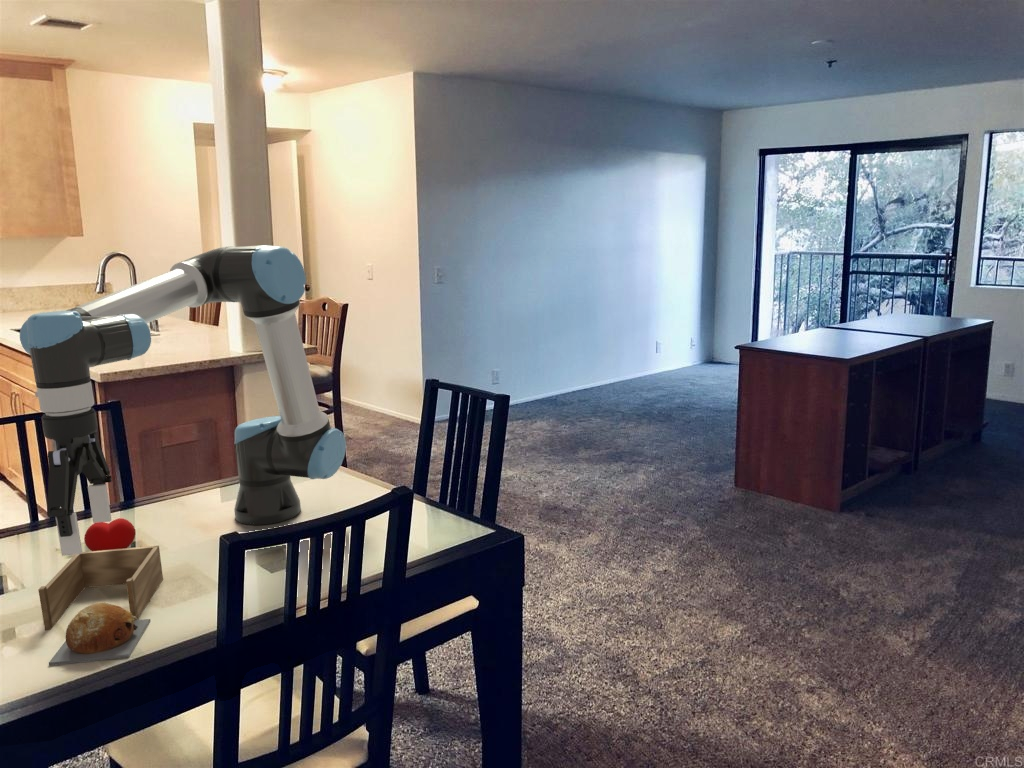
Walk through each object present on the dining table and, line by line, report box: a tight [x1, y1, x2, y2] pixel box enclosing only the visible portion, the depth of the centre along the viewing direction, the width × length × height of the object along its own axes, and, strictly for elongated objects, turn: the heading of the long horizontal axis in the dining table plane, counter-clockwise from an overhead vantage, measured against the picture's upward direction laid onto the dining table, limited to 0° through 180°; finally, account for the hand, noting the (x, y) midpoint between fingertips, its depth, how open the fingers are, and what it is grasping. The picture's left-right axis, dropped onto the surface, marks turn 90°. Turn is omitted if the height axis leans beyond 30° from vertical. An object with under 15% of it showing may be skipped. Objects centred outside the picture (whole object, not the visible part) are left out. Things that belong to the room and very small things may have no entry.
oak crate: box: [38, 545, 164, 631], centre depth 147 cm, size 15×17×8 cm
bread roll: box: [65, 601, 138, 654], centre depth 133 cm, size 10×10×8 cm
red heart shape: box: [83, 517, 136, 551], centre depth 163 cm, size 9×7×10 cm
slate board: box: [48, 618, 151, 666], centre depth 134 cm, size 12×12×1 cm
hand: (88, 537), depth 130 cm, fingers open, 13 cm apart
